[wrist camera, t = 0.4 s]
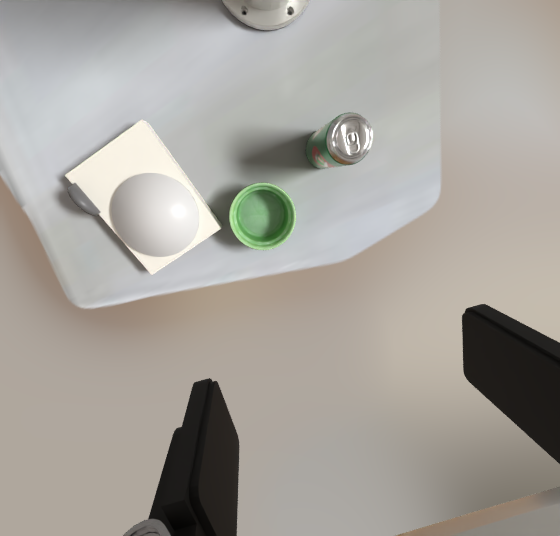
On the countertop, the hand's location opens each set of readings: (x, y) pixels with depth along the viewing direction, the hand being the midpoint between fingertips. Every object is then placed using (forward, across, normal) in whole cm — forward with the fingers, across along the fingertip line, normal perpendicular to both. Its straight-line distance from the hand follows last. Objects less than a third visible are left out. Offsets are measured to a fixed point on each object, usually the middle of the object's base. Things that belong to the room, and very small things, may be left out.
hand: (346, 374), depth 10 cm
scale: (+34, +15, -8) cm, 38 cm away
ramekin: (+34, +1, -2) cm, 34 cm away
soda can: (+34, -10, -9) cm, 36 cm away
